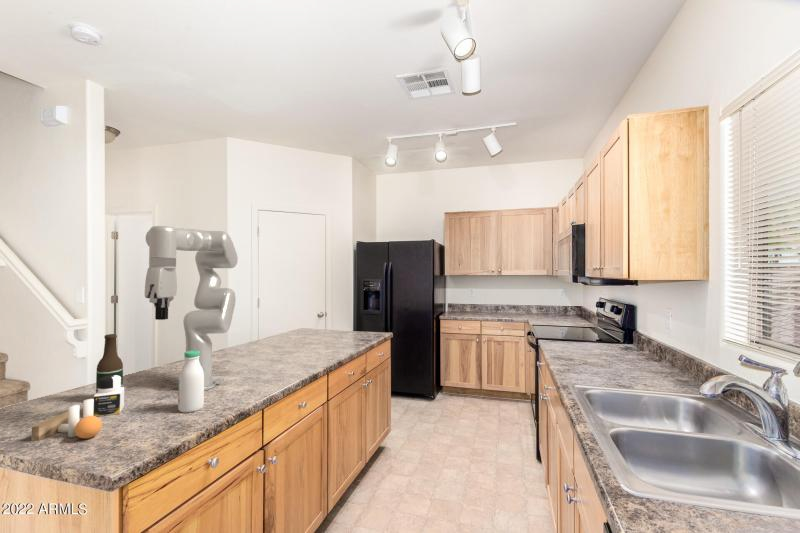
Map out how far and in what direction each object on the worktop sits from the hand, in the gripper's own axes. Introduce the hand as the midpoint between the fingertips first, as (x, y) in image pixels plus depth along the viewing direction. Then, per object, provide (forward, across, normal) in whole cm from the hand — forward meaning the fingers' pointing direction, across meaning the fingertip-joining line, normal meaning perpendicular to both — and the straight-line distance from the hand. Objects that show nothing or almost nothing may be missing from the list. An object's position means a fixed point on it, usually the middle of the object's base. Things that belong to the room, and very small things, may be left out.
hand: (161, 319), depth 121 cm
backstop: (+32, +11, -24) cm, 41 cm away
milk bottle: (+32, -7, +6) cm, 34 cm away
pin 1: (+32, +14, -16) cm, 39 cm away
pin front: (+31, +12, -13) cm, 36 cm away
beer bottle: (+32, -16, -29) cm, 46 cm away
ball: (+29, +15, -11) cm, 35 cm away
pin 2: (+32, +9, -16) cm, 37 cm away
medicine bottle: (+32, -4, -20) cm, 38 cm away
